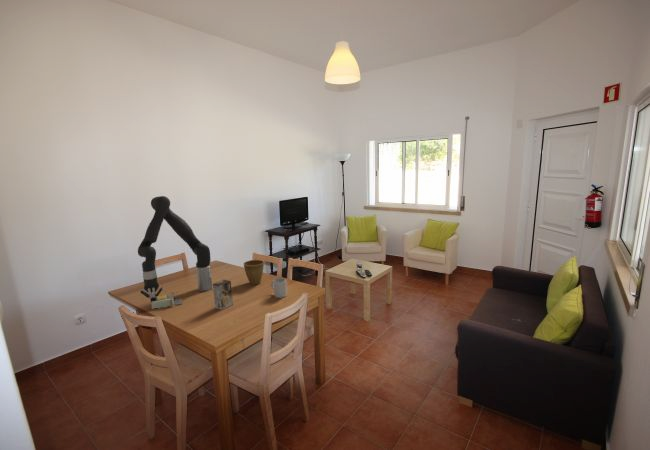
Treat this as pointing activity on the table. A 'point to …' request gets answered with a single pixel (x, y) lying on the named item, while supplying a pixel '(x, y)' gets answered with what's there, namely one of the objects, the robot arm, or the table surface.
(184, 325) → the table surface
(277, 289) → the mug
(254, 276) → the plant pot
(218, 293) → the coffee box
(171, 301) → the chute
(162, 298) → the block
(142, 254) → the robot arm
